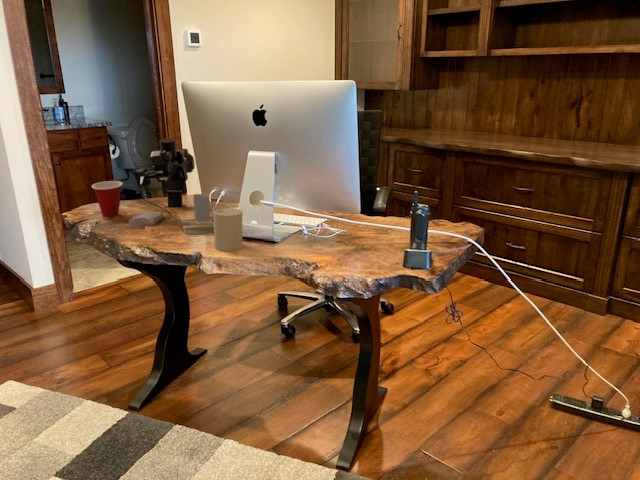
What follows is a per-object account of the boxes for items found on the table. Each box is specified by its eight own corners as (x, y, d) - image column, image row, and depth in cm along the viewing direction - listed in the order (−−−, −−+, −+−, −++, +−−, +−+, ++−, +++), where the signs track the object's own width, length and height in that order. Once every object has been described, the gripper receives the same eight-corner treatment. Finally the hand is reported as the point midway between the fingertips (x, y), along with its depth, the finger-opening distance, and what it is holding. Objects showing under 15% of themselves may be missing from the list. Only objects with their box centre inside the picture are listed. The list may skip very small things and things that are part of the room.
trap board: (180, 221, 191) (180, 212, 190) (221, 219, 196) (221, 211, 195) (185, 237, 173) (184, 228, 172) (229, 234, 178) (229, 225, 177)
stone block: (128, 233, 182) (155, 228, 181) (124, 219, 181) (152, 215, 180) (140, 224, 193) (165, 220, 193) (136, 212, 192) (162, 208, 191)
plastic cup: (88, 214, 195) (85, 183, 191) (113, 209, 203) (110, 179, 200) (106, 220, 189) (103, 187, 185) (131, 214, 198) (128, 183, 194)
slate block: (194, 218, 192) (193, 194, 189) (208, 217, 193) (207, 193, 191) (195, 221, 187) (195, 197, 185) (209, 220, 189) (209, 196, 186)
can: (217, 241, 170) (217, 206, 167) (245, 243, 170) (245, 207, 166) (210, 250, 162) (209, 213, 158) (239, 252, 161) (239, 214, 158)
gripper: (137, 151, 193) (121, 165, 179) (185, 145, 190) (172, 159, 177) (146, 178, 198) (131, 195, 184) (193, 173, 196) (181, 189, 182)
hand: (153, 184), depth 182 cm, fingers open, 9 cm apart
